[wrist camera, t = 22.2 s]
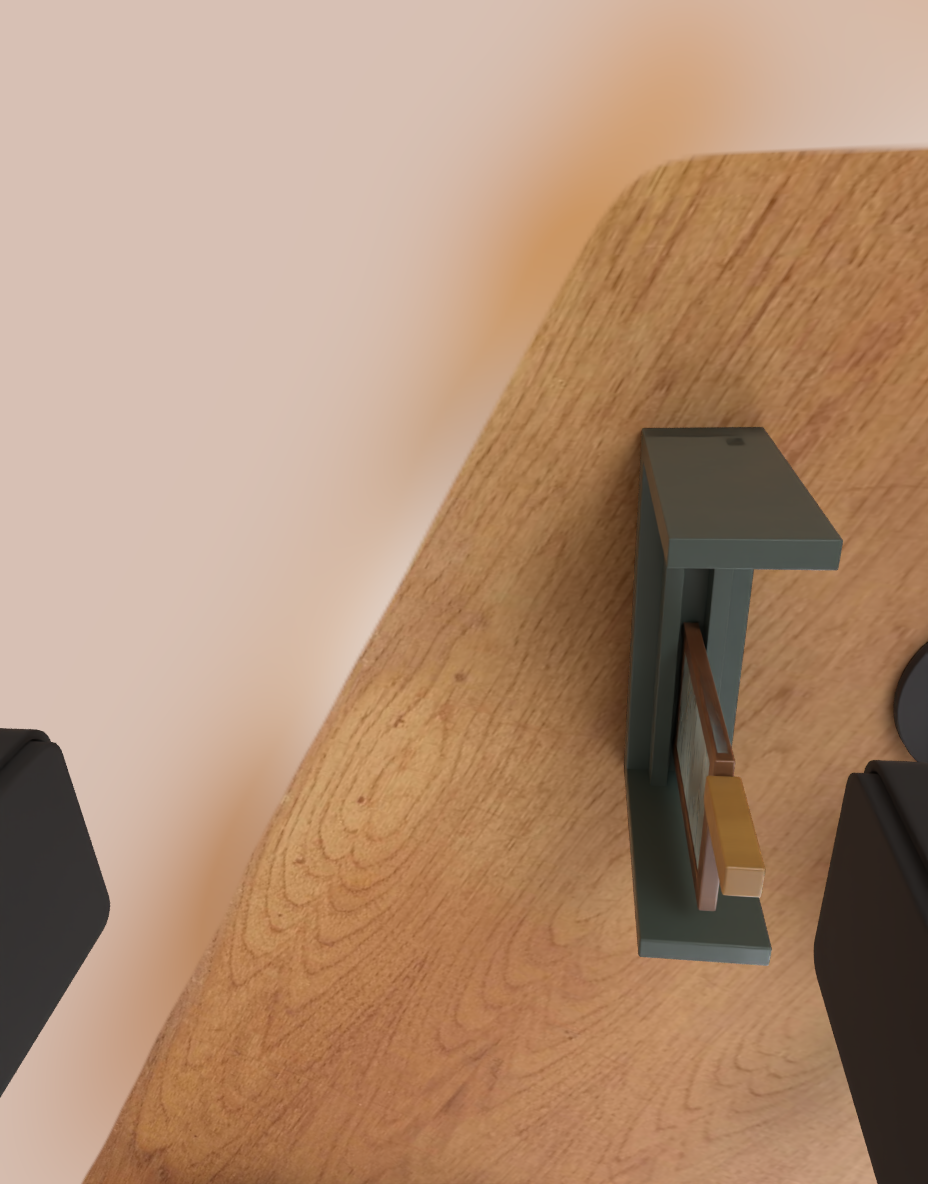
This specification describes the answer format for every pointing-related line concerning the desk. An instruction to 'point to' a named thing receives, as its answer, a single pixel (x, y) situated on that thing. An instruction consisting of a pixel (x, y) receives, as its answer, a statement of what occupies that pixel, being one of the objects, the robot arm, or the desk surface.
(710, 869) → the window sash
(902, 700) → the coaster
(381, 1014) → the desk surface
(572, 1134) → the desk surface
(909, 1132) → the robot arm
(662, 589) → the window frame
